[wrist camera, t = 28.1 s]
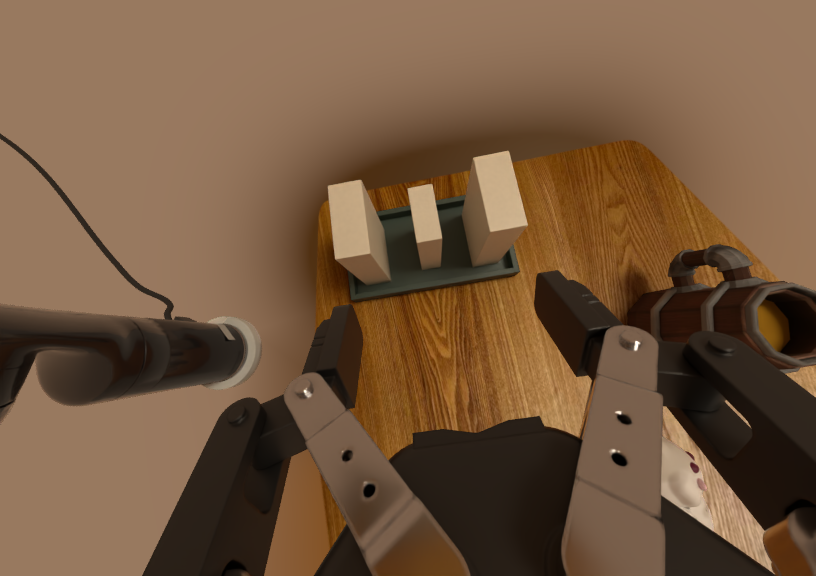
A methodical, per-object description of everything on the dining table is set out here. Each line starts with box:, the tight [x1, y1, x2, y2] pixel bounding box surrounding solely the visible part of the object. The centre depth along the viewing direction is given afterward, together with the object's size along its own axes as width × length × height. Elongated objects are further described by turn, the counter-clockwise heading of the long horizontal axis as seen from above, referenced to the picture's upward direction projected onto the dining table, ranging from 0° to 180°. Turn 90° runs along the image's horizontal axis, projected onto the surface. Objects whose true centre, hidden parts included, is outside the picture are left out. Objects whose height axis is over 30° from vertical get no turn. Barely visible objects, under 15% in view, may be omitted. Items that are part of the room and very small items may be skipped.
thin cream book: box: [408, 184, 442, 270], centre depth 40 cm, size 3×7×13 cm, turn 9°
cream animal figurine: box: [661, 436, 714, 531], centre depth 35 cm, size 10×8×15 cm
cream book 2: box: [462, 151, 528, 267], centre depth 39 cm, size 4×9×15 cm, turn 9°
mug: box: [628, 244, 816, 374], centre depth 35 cm, size 16×12×15 cm
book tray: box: [348, 195, 520, 302], centre depth 46 cm, size 26×14×3 cm, turn 99°
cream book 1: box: [328, 180, 391, 285], centre depth 40 cm, size 4×9×15 cm, turn 8°
